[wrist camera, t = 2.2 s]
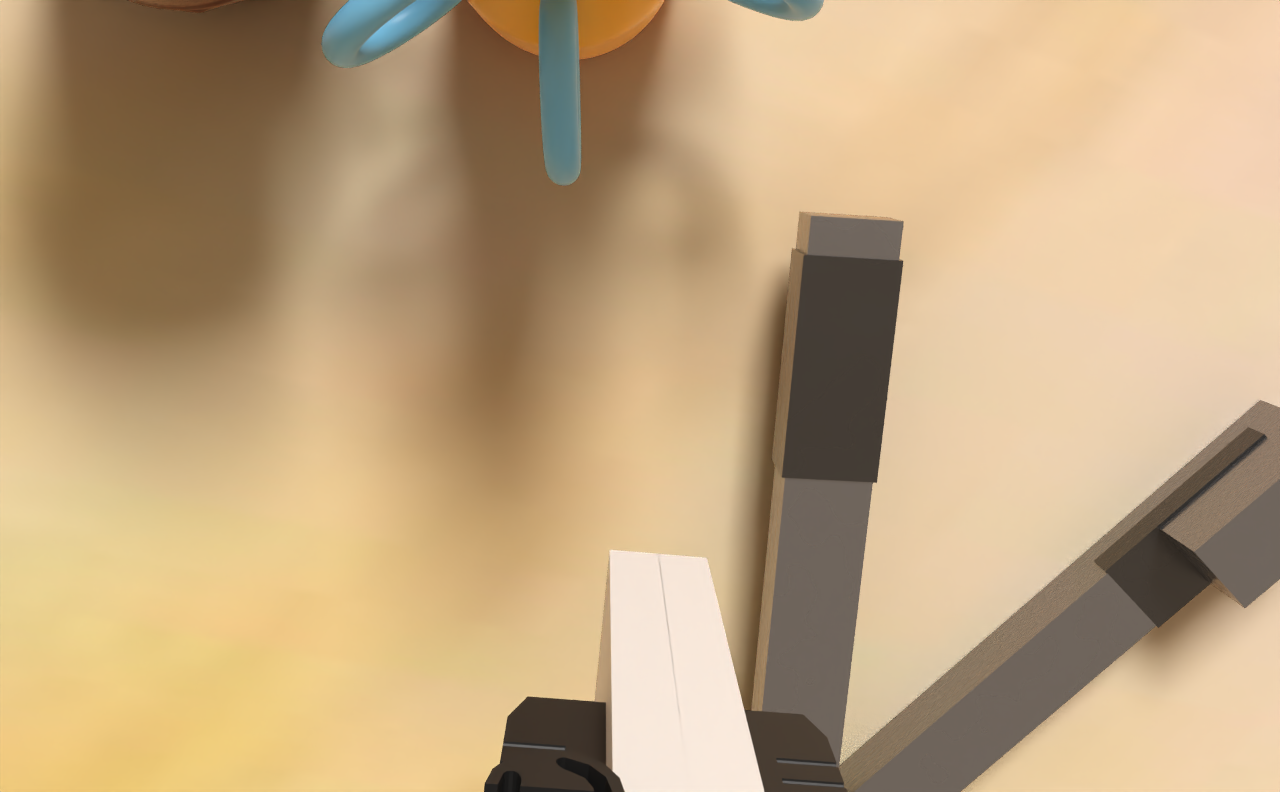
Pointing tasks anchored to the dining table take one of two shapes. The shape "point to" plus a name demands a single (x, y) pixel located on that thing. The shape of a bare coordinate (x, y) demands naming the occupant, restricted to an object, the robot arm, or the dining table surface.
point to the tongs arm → (825, 461)
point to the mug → (186, 4)
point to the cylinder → (525, 46)
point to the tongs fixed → (1093, 614)
